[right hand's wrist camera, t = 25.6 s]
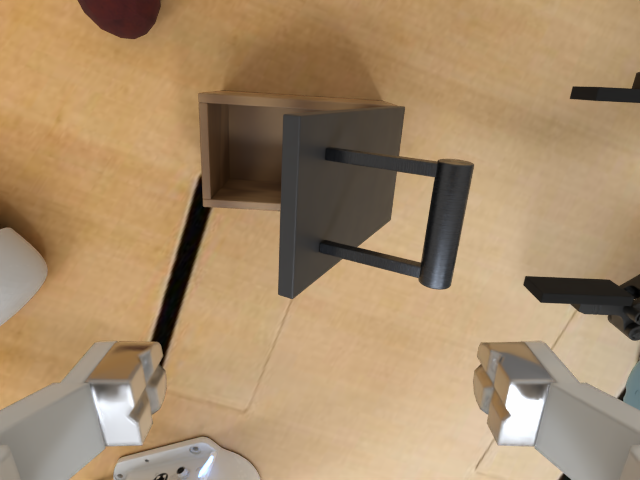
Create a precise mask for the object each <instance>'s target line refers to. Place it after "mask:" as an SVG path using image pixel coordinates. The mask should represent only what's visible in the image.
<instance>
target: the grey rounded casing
mask: <svg viewBox="0 0 640 480" xmlns="http://www.w3.org/2000/svg"><path fill="white" fill-rule="evenodd" d="M47 273H48V268H47V264H46V262H45V260H44V258H43V257H42V256H41V254H40V253H39V252H38V251H37V250H36V249H35V248H34V247H33V246H32V245H31V244H30V243H29V242H27V241H26V240H25V239H24V238H23V237H22V236H20V235H19V234H18V233H17V232H15V231H14V230H13V229H12V228H3V229H0V326H1V325H2V324H4V323H5V322H6V321H7V320H9V319H10V318H11V317H12V316H13V315H15V314H16V313H17V312H18V311H19V310H20V309H21V308H22V307H23V306H24V305H25V304H26V303H27V302H28V301H29V300H30V299H31V298H32V297H33V296H34V295H35V294H36V292H37V291H38V290H39V289H40V287H41V286H42V285H43V283H44V281H45V279H46V277H47Z"/></svg>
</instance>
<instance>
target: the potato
mask: <svg viewBox="0 0 640 480" xmlns="http://www.w3.org/2000/svg"><path fill="white" fill-rule="evenodd" d="M78 2H79V4H80V5H81V7H82V9H83V11H84V13H85V14H87V15H88V16H89V17H90V18H91V19H92V20H93V21H94V22H95V23H96V24H97V25H98V26H99V27H100V28H101V29H103V30H105V31H107V32H109V33H111V34H114V35H116V36H118V37H120V38H128V39H136V38H138V37H140V36H143V35H145V34H147V33H148V31H149V30H150V29H151V28H152V26H153V25H154V24H155V22H156V19H157V16H158V13H159V10H160V0H78Z"/></svg>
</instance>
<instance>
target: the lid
mask: <svg viewBox="0 0 640 480" xmlns="http://www.w3.org/2000/svg"><path fill="white" fill-rule="evenodd" d="M404 112H405V107H402V106H386V107H372V108H359V109H345V110H332V111H318V112H305V113H292V114H284V115H283V136H282V173H281V210H280V247H279V284H278V294H279V295H281V296H284V297H287V298H290V299H293V298H295V297H296V296H297V295H298V294H300V293H301V292H302V291H303V290H304V289H306V288H307V287H308V286H309V285H311V284H312V283H313V282H314V281H316V280H317V279H318V278H319V277H321V276H322V275H323V274H324V273H326V272H327V271H328V270H329V269H331V268H332V267H333V266H334V265H335V264H337V263H338V262H339V261H340V260H342V259H346V260H350V261H354V262H358V263H362V264H366V265H370V266H374V267H378V268H381V269H385V270H389V271H393V272H397V273H401V274H405V275H409V276H413V277H417V278H419V282H420V283H421V284H422V285H424V286H426V287H429V288H432V289H447V288H449V287H450V286H451V282H452V277H453V271H454V266H455V261H456V256H457V251H458V246H459V241H460V236H461V230H462V225H463V220H464V215H465V210H466V205H467V200H468V194H469V189H470V184H471V179H472V174H473V169H474V164H473V163H471V162H468V161H463V160H455V159H440V160H438V161H437V162H436V161H429V160H422V159H415V158H407V157H400V156H399V151H400V143H401V135H402V127H403V119H404ZM397 171H398V172H404V173H411V174H417V175H424V176H430V177H435V180H434V186H433V192H432V198H431V205H430V211H429V217H428V223H427V229H426V235H425V242H424V248H423V254H422V260H421V263H420V262H416V261H412V260H407V259H403V258H399V257H395V256H391V255H387V254H382V253H378V252H374V251H370V250H366V249H362V248H358V246H359V245H360V244H362V243H363V242H364V241H365V240H366V239H368V238H369V237H370V236H371V235H373V234H374V233H375V232H376V231H378V230H379V229H380V228H381V227H383V226H384V225H385V224H386V223H388V222H389V221H390V220H391V213H392V205H393V197H394V190H395V182H396V174H397Z"/></svg>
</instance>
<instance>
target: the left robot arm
mask: <svg viewBox="0 0 640 480" xmlns="http://www.w3.org/2000/svg"><path fill="white" fill-rule="evenodd" d="M570 99H580V100H593V101H612V102H632V103H640V72H638V73H636V77H635V80H634V83H633V87H632V89H625V88H606V87H573V88H572V92H571V96H570ZM524 286H525V287H526V288H527V289H528V290H529V291H530V292H531V293H532V294H533V295H534V296H535V297H536V298H537V299H538V300H539V301H540V302H541V303H564V304H571V305H572V306H573V307H574V308H575V309H577V310H578V311H579V312H581V313H584V314H599V315H608V320H609V322H611V323H612V324H613V325H614V326H615V327H616V328H618V329H619V330H620V331H621V332H622V333H624V334H625V335H626V336H627V337H629V338H630V339H631V340H634V341H636V340H640V274H639V275H638V276H636V277H634V278H632V279H631V280H629V281H627V282H626V283H624V284H622V285H620V286H618V285H616V284H615V283H613V282H612V281H611V280H602V279H579V278H555V277H531V276H525V280H524ZM634 299H635V300H634ZM623 402H625V403H626V404H628V405H630V406H632V407H634V408H636V409H638V410H640V357H639V361H638V363H637V364H636V365H635V366H634V368H633V370H632V371H631V373H630V375H629V377H628V380H627V383H626V394H625V396H624V401H623Z"/></svg>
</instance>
